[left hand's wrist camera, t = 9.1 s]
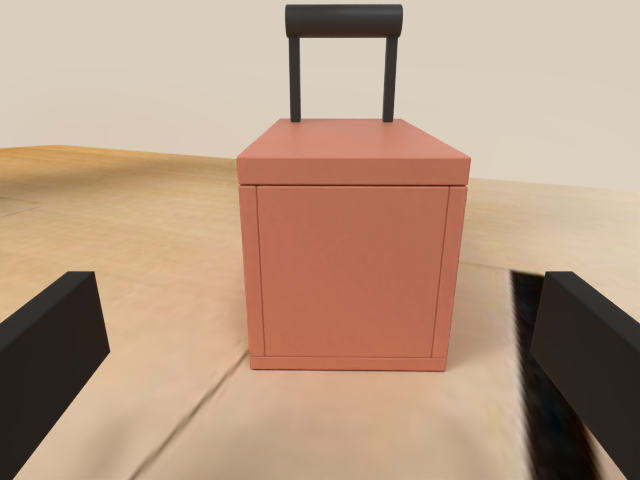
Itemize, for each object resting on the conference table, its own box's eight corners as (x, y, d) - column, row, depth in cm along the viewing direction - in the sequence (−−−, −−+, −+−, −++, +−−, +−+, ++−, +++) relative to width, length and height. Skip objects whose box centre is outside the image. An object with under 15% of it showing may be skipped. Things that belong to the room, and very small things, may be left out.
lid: (279, 134, 34) (275, 10, 31) (400, 134, 34) (408, 10, 31) (238, 185, 18) (221, -63, 15) (468, 185, 18) (499, -64, 15)
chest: (282, 245, 37) (279, 135, 34) (394, 245, 37) (401, 135, 34) (250, 369, 21) (238, 186, 18) (445, 371, 21) (468, 187, 18)
